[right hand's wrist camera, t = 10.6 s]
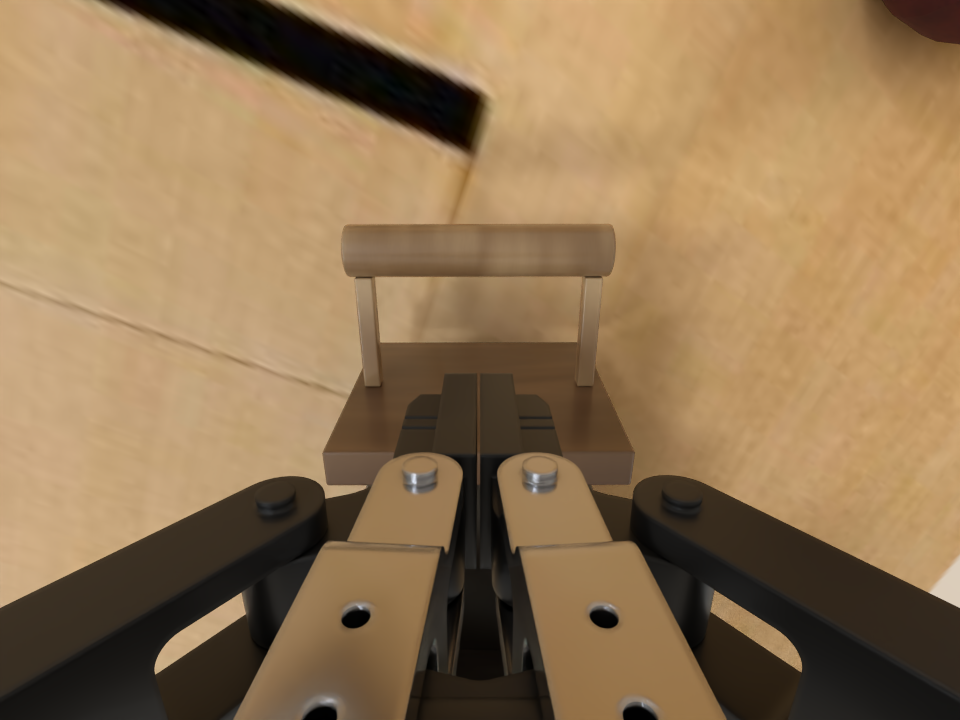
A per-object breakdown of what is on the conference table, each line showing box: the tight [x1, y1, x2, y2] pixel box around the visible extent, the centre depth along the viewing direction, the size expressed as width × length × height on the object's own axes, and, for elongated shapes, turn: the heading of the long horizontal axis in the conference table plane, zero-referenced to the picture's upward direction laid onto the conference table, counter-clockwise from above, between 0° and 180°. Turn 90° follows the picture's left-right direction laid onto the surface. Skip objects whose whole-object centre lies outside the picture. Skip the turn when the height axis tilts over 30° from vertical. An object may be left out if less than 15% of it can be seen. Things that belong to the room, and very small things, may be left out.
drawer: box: [322, 224, 635, 681], centre depth 22 cm, size 24×9×9 cm, turn 0°
